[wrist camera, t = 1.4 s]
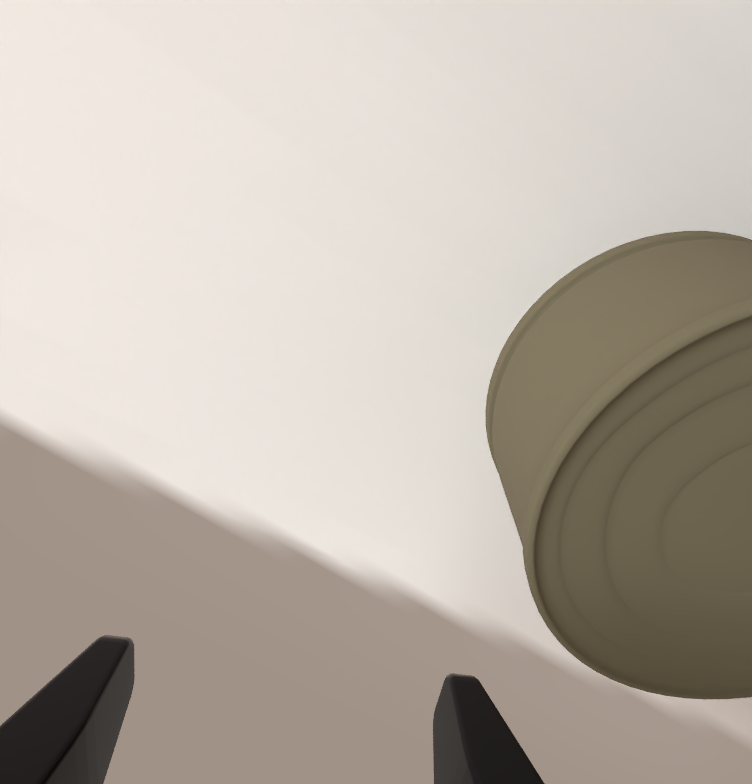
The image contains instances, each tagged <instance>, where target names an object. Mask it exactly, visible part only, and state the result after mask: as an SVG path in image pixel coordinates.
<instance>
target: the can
mask: <svg viewBox="0 0 752 784" xmlns="http://www.w3.org/2000/svg"><path fill="white" fill-rule="evenodd" d="M486 431H487V438H488V443H489V447H490V451H491V455H492V458H493V460H494V463H495V466H496V468H497V471H498V473H499V476H500V479H501V482H502V485H503V488H504V491H505V494H506V497H507V500H508V503H509V506H510V509H511V512H512V515H513V518H514V521H515V524H516V527H517V530H518V533H519V536H520V539H521V542H522V546H523V556H524V565H525V571H526V575H527V579H528V583H529V587H530V590H531V593H532V596H533V598H534V601H535V603H536V606H537V608H538V611H539V613H540V615H541V616H542V618H543V620H544V622H545V623H546V625H547V627H548V628H549V629H550V631H551V632H552V633H553V635H554V636H555V637H556V639H557V640H558V641H559V642H560V643H561V644H562V645H563V646H564V647H565V648H566V649H567V650H568V651H569V652H570V653H571V654H572V655H574V656H575V657H576V658H577V659H579V660H580V661H581V662H582V663H584V664H585V665H587V666H589V667H590V668H592V669H593V670H595V671H596V672H598V673H600V674H602V675H604V676H606V677H608V678H610V679H612V680H614V681H617V682H620V683H622V684H625V685H627V686H630V687H633V688H637V689H640V690H643V691H647V692H651V693H656V694H661V695H666V696H673V697H681V698H693V699H732V698H746V697H752V240H750V239H747V238H744V237H741V236H736V235H731V234H726V233H719V232H709V231H683V232H673V233H665V234H659V235H654V236H649V237H645V238H642V239H638V240H635V241H632V242H628V243H626V244H623V245H621V246H618V247H615V248H613V249H610V250H608V251H606V252H604V253H602V254H600V255H598V256H596V257H594V258H592V259H590V260H589V261H587V262H585V263H584V264H582V265H580V266H579V267H577V268H575V269H574V270H573V271H571V272H570V273H568V274H567V275H566V276H564V277H563V278H562V279H560V280H559V281H558V282H557V283H555V284H554V285H553V286H552V287H551V288H550V289H549V290H547V291H546V292H545V293H544V294H543V295H542V296H541V297H540V298H539V299H538V300H537V301H536V302H535V303H534V304H533V305H532V306H531V308H530V309H529V310H528V311H527V312H526V314H525V315H524V316H523V317H522V319H521V320H520V321H519V323H518V324H517V326H516V327H515V329H514V330H513V332H512V333H511V335H510V336H509V338H508V340H507V342H506V343H505V345H504V347H503V349H502V351H501V353H500V355H499V358H498V360H497V363H496V365H495V368H494V371H493V374H492V377H491V380H490V385H489V390H488V395H487V403H486Z"/></svg>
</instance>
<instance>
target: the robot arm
mask: <svg viewBox="0 0 752 784" xmlns="http://www.w3.org/2000/svg"><path fill="white" fill-rule="evenodd" d="M133 685H134V643H133V641H132V639H131V638H128V637H119V636H110V635H104V636H102V637H100V638H98V639H97V640H96V641H95V642H94V643H92V644H91V645H90V646H89V647H88V648H87V649H86V650H85V651H83V652H82V653H81V654H80V655H79V656H78V657H77V658H75V659H74V660H73V661H72V662H71V663H70V664H69V665H68V666H67V667H66V668H64V669H63V670H62V671H61V672H60V673H59V674H58V675H57V676H55V677H54V678H53V679H52V680H51V681H50V682H49V683H48V684H46V685H45V686H44V687H43V688H42V689H41V690H40V691H39V692H38V693H36V694H35V695H34V696H33V697H32V698H31V699H30V700H29V701H27V702H26V703H25V704H24V705H23V706H22V707H21V708H20V709H19V710H18V711H16V712H15V713H14V714H13V715H12V716H11V717H10V718H9V719H7V720H6V721H5V722H4V723H3V724H2V725H1V726H0V784H103V783H104V779H105V776H106V773H107V770H108V767H109V763H110V761H111V757H112V754H113V751H114V748H115V745H116V742H117V739H118V735H119V732H120V729H121V726H122V723H123V720H124V717H125V713H126V710H127V707H128V704H129V700H130V698H131V694H132V690H133ZM433 750H434V784H544V782H543V781H542V779H541V778H540V776H539V774H538V773H537V771H536V770H535V768H534V767H533V765H532V764H531V762H530V760H529V759H528V757H527V756H526V754H525V752H524V751H523V749H522V748H521V746H520V745H519V743H518V742H517V740H516V738H515V737H514V735H513V734H512V732H511V730H510V729H509V727H508V726H507V724H506V722H505V721H504V719H503V718H502V716H501V715H500V713H499V711H498V710H497V708H496V707H495V705H494V704H493V702H492V701H491V699H490V697H489V696H488V694H487V693H486V691H485V689H484V688H483V686H482V685H481V683H480V682H479V680H478V679H476V678H475V677H474V676H471V675H462V674H449V675H448V676H447V677H446V678H445V680H444V683H443V687H442V690H441V693H440V696H439V699H438V702H437V705H436V708H435V712H434V719H433Z"/></svg>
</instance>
